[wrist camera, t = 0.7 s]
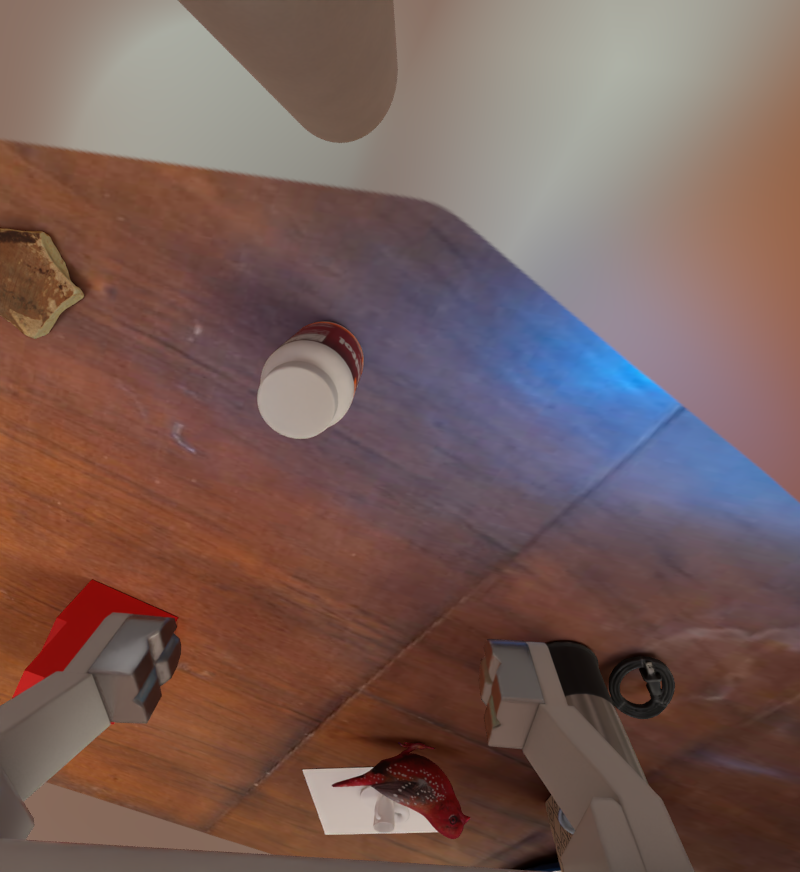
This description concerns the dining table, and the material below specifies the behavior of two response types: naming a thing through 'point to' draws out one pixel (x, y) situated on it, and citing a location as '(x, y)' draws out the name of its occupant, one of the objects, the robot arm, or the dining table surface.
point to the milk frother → (608, 696)
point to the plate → (547, 867)
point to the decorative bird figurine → (416, 788)
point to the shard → (33, 282)
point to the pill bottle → (310, 380)
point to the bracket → (80, 629)
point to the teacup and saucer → (359, 806)
